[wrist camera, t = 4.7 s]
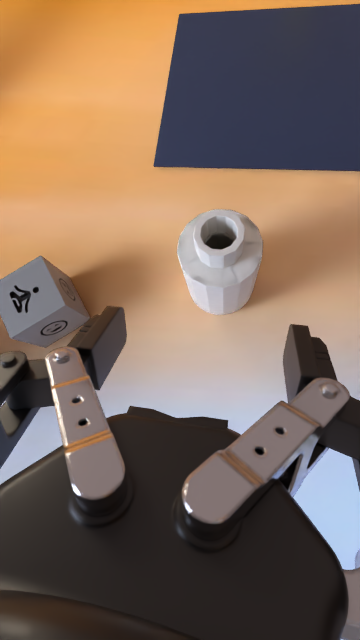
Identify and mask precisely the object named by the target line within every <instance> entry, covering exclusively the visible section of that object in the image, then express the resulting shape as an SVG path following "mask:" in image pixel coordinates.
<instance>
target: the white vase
mask: <svg viewBox="0 0 360 640" xmlns="http://www.w3.org/2000/svg"><path fill="white" fill-rule="evenodd" d="M262 252H263V240H262V237H261V235H260V232H259V229H258V227H257V226H256V225H255V224H254V223H253V222H252V221H251V220H250V219H249V218H248V217H246V216H245V215H243V214H240V213H238V212H236V211H233V210H224V209H216V210H211V211H208V212H205V213H202V214H199V215H198V216H197V217H196V218H194V219H193V220H192V221H190V222H189V223H188V224H187V225H186V227H185V228H184V230H183V232H182V233H181V235H180V237H179V242H178V249H177V254H178V258H179V261H180V265H181V268H182V271H183V274H184V277H185V280H186V283H187V286H188V289H189V292H190V295H191V297H192V299H193V301H194V302H195V303H196V304H197V305H198V307H200V308H201V309H202V310H204V311H206V312H208V313H211V314H216V315H226V314H230V313H233V312H235V311H237V310H239V309H240V308H242V307H243V306H244V305H245V304H246V303H247V301H248V300H249V298H250V296H251V294H252V292H253V289H254V285H255V281H256V278H257V274H258V270H259V267H260V263H261V259H262Z"/></svg>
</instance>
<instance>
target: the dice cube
mask: <svg viewBox="0 0 360 640" xmlns="http://www.w3.org/2000/svg"><path fill="white" fill-rule="evenodd" d="M0 315H1V318H2V320H3V322H4V325H5V327H6V329H7V332H8V334H9V336H10V338H11V339H14V340H18V341H22V342H26V343H29V344H33V345H37V346H40V347H44V348H46V347H47V346H49V345H51V344H52V343H54V342H56V341H57V340H59V339H60V338H62V337H64V336H65V335H67V334H69V333H70V332H72V331H74V330H75V329H77V328H79V327H80V326H82V325H84V324H85V323H86V322H87V321H88V319H90V316H89V314H88V312H87V310H86V308H85V306H84V305H83V303H82V301H81V299H80V297H79V295H78V293H77V291H76V289H75V287H74V285H73V283H72V281H71V280H70V278H69V277H68V276H67V275H66V274H64V273H63V272H62V271H61V270H59V269H58V268H57V267H55V266H54V265H53V264H51V263H50V262H49V261H47V260H46V259H45V258H44V257H42V256H39V257H37V258H36V259H34V260H32V261H31V262H29V263H27V264H26V265H24V266H22V267H21V268H19V269H17V270H16V271H14V272H12V273H11V274H9V275H7V276H6V277H4V278H3V279H1V280H0Z"/></svg>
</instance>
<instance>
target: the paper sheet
mask: <svg viewBox="0 0 360 640" xmlns="http://www.w3.org/2000/svg"><path fill="white" fill-rule="evenodd" d="M154 167H193V168H239V169H286V170H332V171H360V4H351V5H333V6H315V7H297V8H279V9H261V10H243V11H225V12H207V13H189V14H179V19H178V25H177V31H176V37H175V43H174V48H173V54H172V60H171V66H170V72H169V78H168V84H167V90H166V96H165V102H164V107H163V113H162V119H161V125H160V131H159V137H158V143H157V149H156V155H155V161H154Z"/></svg>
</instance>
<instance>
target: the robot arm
mask: <svg viewBox="0 0 360 640" xmlns="http://www.w3.org/2000/svg"><path fill="white" fill-rule="evenodd" d="M126 337H127V333H126V323H125V314H124V309H123V308H122V307H114V306H107V307H106V308H105V310H104V311H103V312H102V313H101V315H95V316H93V317H92V318H90V319H88V321H87V322H86V323H85V324H84V326H83V327H82V328H81V329H80V331H79V332H78V333H77V334H76V335H75V337H74V338H73V339H72V340H71V342H70V343H69V344H68V345H67V347H60V348H57V349H55V350H53V351H51V352H50V353H49V354H48V355H47V356H46V359H37V360H28V359H27V356H26V354H25V353H23V352H21V351H11V352H6V353H4V354H1V355H0V406H1V405H2V403H3V402H4V401H5V400H6V402H5V403H4V404H3V406H2V407H1V408H0V469H1V467H2V466H3V464H4V462H5V461H6V459H7V458H8V456H9V455H10V453H11V452H12V450H13V449H14V447H15V446H16V444H17V442H18V441H19V439H20V438H21V436H22V435H23V433H24V432H25V430H26V429H27V427H28V426H29V424H30V422H31V421H32V419H33V418H34V416H35V415H36V413H37V412H38V410H39V409H40V407H47V406H55V410H56V415H57V419H58V424H59V428H60V433H61V437H62V442H63V445H62V446H60V447H59V448H57V449H56V450H54V451H53V452H51V453H49V454H48V455H46V456H45V457H43V458H41V459H40V460H38V461H37V462H35V463H33V464H32V465H30V466H29V467H27V468H25V469H24V470H22V471H21V472H19V473H18V474H16V475H14V476H13V477H11V478H10V479H8V480H7V481H5V482H4V483H2V484H1V485H0V640H340V639H344V640H360V549H359V550H358V552H357V554H356V557H355V569H353V570H344V569H342V567H341V564H340V562H339V560H338V558H337V556H336V554H335V553H334V551H333V550H332V548H331V547H330V545H329V544H328V543H327V541H326V540H325V539H324V537H323V536H322V535H321V533H320V532H319V531H318V530H317V528H316V527H315V526H314V524H313V523H312V522H311V520H310V519H309V518H308V517H307V515H306V514H305V513H304V511H303V510H302V509H301V507H300V506H299V505H298V503H297V502H296V501H295V500H294V498H293V497H294V495H295V494H296V492H297V491H298V489H299V488H300V486H301V484H302V482H303V480H304V479H305V477H306V476H307V475H308V473H309V472H310V471H311V470H312V469H313V467H314V466H315V465H316V464H317V462H318V461H319V460H320V459H321V458H322V456H323V455H324V454H325V453H326V452H327V450H328V449H329V448H331V449H333V450H335V451H338V452H340V453H343V454H345V455H347V456H350V457H352V459H353V463H354V468H355V472H356V477H357V481H358V486H359V490H360V401H359V400H357V399H355V398H353V397H351V396H350V394H349V391H348V390H347V388H346V387H345V386H344V385H342V384H341V383H340V382H338V381H337V378H336V375H335V372H334V368H333V365H332V362H331V361H330V356H329V354H328V350H327V347H326V345H325V344H324V343H323V342H322V341H321V339H320V338H316V337H311V336H310V332H309V328H308V326H304V325H294V324H291V325H290V327H289V331H288V335H287V340H286V344H285V349H284V355H283V367H284V375H285V383H286V391H287V399H288V403H285V402H284V401H280V402H278V403H277V404H276V405H275V406H274V407H273V408H272V409H270V410H269V411H268V412H267V413H266V414H265V415H264V416H262V417H261V418H260V419H259V420H258V421H257V422H256V423H255V424H253V425H252V426H251V427H250V428H249V429H248V430H247V431H245V432H244V433H243V434H242V435H240V434H239V433H237V432H235V431H233V430H231V429H228V428H227V427H228V420H222V419H215V418H208V417H190V418H174V417H172V416H169V415H167V414H164V413H161V412H159V411H156V410H154V409H147V408H141V407H134V406H130V407H129V409H128V411H127V413H124V414H118V415H114V416H111V417H108V418H105V415H104V413H103V410H102V407H101V405H100V402H99V399H98V397H97V394H96V392H95V390H100V388H101V386H102V385H103V383H104V381H105V379H106V377H107V376H108V374H109V372H110V370H111V369H112V367H113V365H114V363H115V361H116V360H117V358H118V356H119V354H120V352H121V351H122V349H123V347H124V345H125V343H126Z"/></svg>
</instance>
